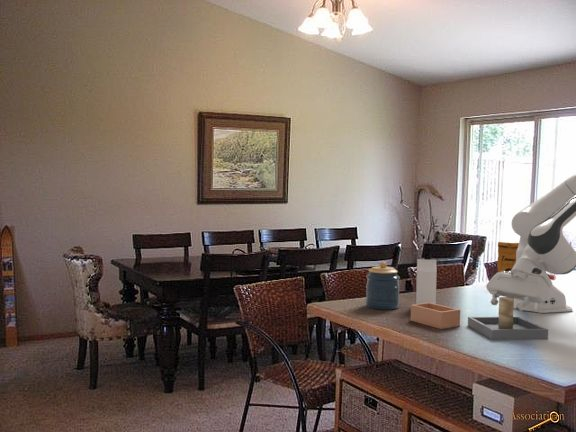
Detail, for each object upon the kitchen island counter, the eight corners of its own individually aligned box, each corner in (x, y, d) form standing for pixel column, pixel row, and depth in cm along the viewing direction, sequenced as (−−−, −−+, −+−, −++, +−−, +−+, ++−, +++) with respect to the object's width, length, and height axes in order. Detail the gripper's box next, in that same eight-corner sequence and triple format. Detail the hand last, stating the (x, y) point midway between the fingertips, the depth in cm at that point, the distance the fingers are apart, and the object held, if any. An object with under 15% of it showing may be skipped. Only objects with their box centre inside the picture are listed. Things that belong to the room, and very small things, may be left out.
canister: (406, 308, 218) (407, 262, 218) (380, 311, 211) (381, 264, 211) (383, 302, 229) (384, 259, 229) (358, 305, 222) (359, 260, 222)
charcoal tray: (518, 325, 192) (519, 316, 192) (547, 339, 174) (548, 329, 174) (467, 325, 190) (467, 316, 190) (491, 339, 173) (492, 329, 172)
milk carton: (435, 311, 214) (436, 261, 213) (416, 310, 215) (417, 260, 214) (434, 307, 221) (435, 259, 220) (415, 306, 222) (417, 258, 221)
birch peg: (508, 327, 185) (509, 296, 184) (515, 330, 180) (516, 299, 180) (495, 327, 184) (496, 297, 184) (502, 330, 180) (503, 299, 179)
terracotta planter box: (428, 317, 202) (429, 302, 202) (459, 325, 190) (460, 309, 190) (410, 320, 197) (410, 304, 197) (441, 329, 185) (441, 312, 185)
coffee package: (522, 291, 261) (524, 243, 261) (494, 288, 267) (495, 242, 267) (524, 288, 270) (526, 242, 269) (497, 285, 276) (498, 240, 275)
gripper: (494, 264, 194) (474, 294, 189) (549, 272, 177) (529, 306, 172) (502, 276, 196) (483, 306, 192) (557, 285, 179) (537, 318, 174)
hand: (505, 306), depth 182 cm, fingers open, 8 cm apart
